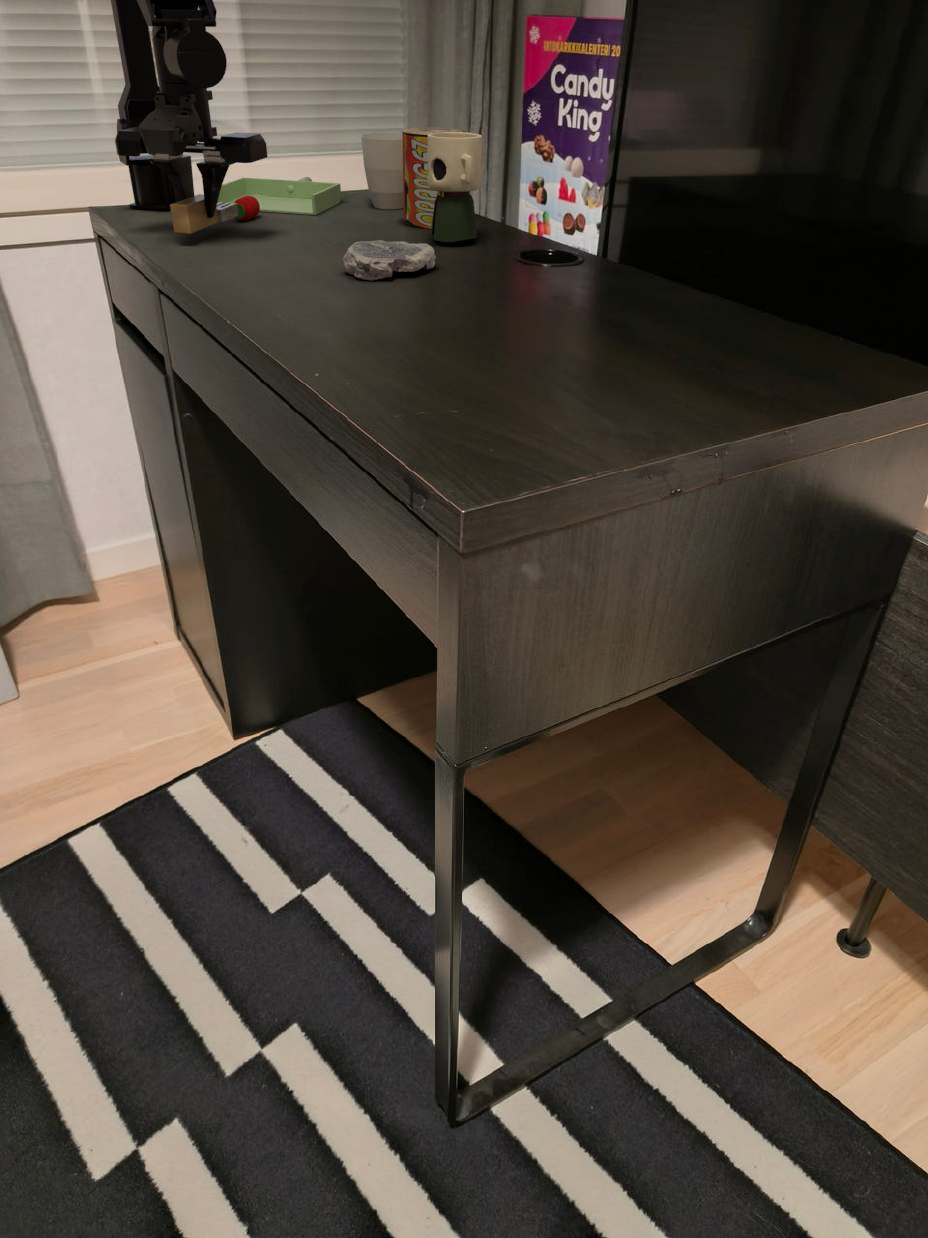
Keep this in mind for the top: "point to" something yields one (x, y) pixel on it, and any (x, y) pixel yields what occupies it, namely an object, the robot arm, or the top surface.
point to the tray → (284, 194)
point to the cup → (384, 169)
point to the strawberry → (247, 207)
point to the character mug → (454, 183)
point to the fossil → (386, 258)
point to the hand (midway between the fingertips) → (201, 216)
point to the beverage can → (418, 177)
